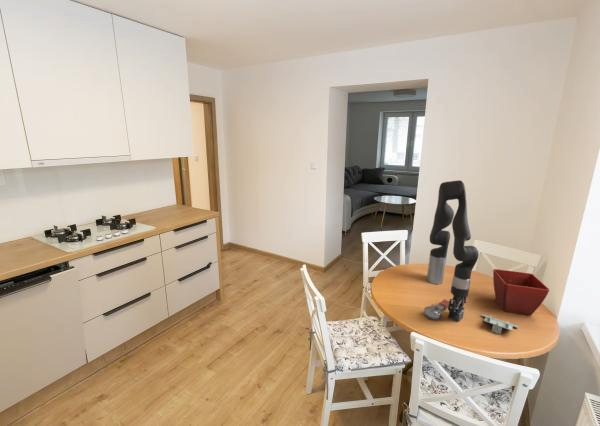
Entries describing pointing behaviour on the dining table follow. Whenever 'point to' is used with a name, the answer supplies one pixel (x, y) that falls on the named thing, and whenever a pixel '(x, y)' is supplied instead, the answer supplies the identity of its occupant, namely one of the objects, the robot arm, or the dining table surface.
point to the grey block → (458, 313)
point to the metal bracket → (498, 324)
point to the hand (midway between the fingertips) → (455, 314)
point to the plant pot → (518, 291)
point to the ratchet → (436, 310)
